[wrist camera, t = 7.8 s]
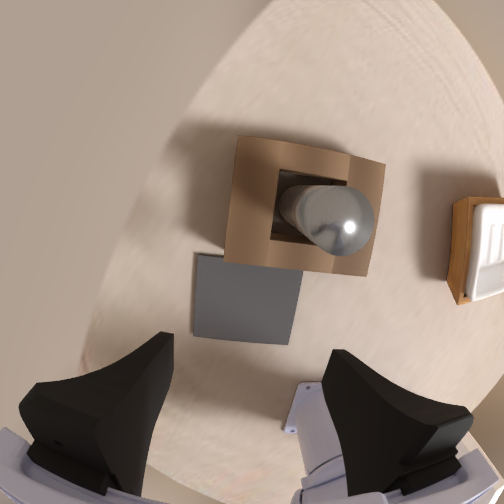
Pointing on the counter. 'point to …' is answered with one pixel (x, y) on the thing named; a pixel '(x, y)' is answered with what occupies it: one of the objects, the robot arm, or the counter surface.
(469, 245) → the soap dish
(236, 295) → the mat
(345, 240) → the peg
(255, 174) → the block
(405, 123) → the counter surface
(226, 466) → the counter surface
